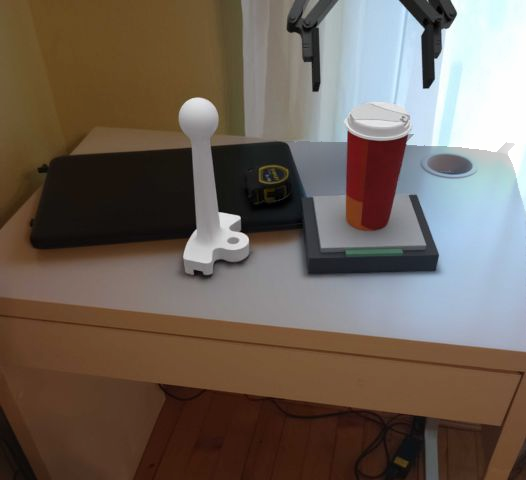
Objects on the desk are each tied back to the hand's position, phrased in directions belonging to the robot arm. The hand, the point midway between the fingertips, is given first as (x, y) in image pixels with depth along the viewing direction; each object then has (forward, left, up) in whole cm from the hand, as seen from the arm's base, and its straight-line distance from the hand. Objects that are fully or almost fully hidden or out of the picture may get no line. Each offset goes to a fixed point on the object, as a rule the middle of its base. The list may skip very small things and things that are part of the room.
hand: (372, 86), depth 76 cm
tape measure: (+13, -4, -18) cm, 23 cm away
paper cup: (0, +6, -15) cm, 16 cm away
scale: (0, +7, -18) cm, 19 cm away
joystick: (+19, +9, -18) cm, 28 cm away
